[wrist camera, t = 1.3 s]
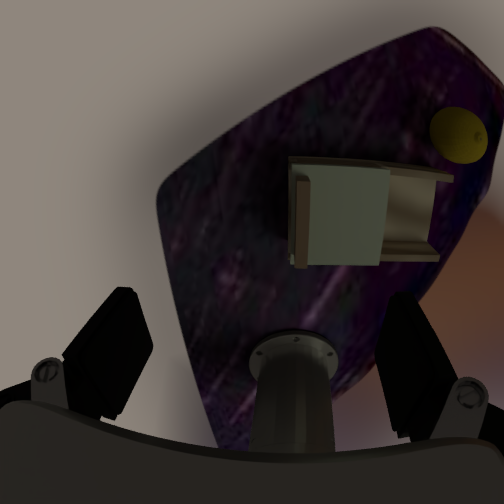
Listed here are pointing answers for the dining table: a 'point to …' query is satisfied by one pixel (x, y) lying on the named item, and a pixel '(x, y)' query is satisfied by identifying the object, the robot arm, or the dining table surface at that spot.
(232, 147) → the dining table surface
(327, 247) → the cover
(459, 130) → the lemon
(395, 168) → the beige box
